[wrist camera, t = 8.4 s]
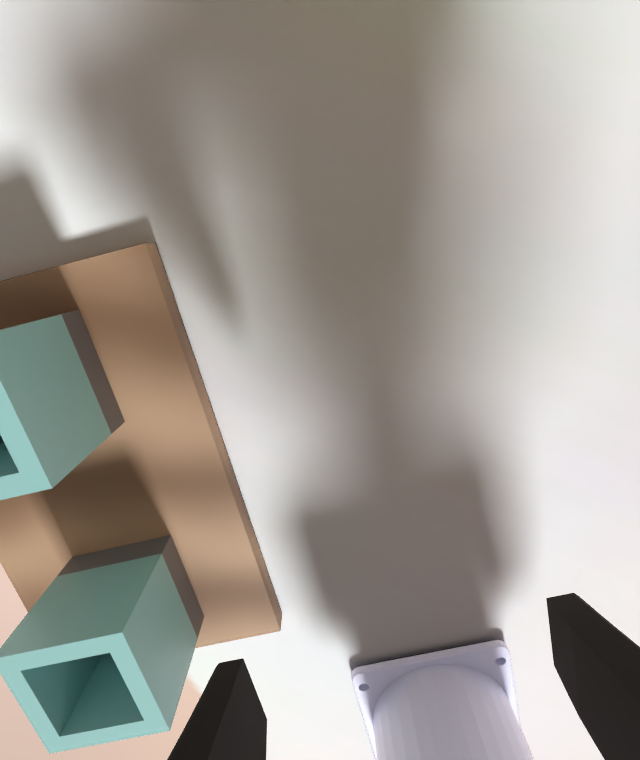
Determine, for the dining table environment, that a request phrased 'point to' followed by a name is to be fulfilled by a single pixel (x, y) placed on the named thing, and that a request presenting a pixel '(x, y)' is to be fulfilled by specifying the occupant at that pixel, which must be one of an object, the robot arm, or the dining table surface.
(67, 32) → the dining table surface
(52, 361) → the sleeve
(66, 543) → the pin board
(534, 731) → the dining table surface
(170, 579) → the seated sleeve
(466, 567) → the dining table surface
